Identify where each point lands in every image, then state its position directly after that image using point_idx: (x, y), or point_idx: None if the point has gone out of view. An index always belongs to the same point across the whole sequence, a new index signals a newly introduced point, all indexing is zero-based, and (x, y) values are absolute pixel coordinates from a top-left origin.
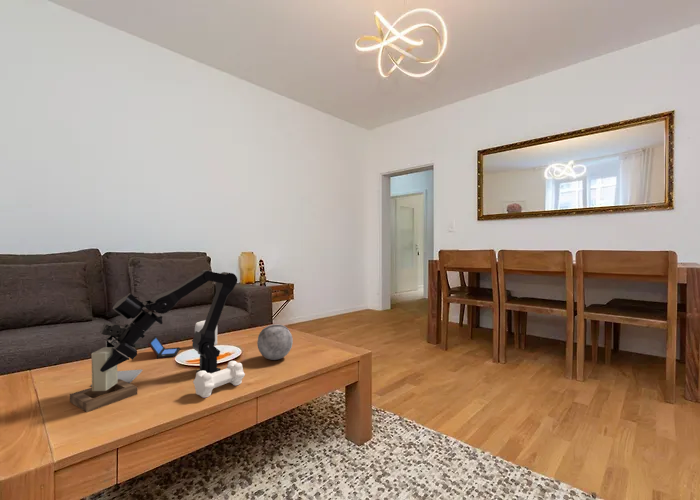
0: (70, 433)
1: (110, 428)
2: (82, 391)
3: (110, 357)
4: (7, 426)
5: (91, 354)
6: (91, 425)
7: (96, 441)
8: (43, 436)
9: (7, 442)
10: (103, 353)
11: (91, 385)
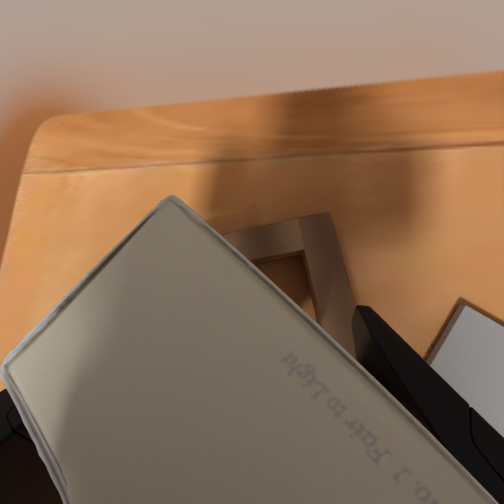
0: (104, 204)
1: (51, 276)
2: (325, 250)
3: (2, 393)
4: (261, 97)
5: (183, 203)
6: (104, 245)
7: (23, 240)
8: (137, 160)
9: (169, 106)
10: (21, 342)
11: (461, 307)
